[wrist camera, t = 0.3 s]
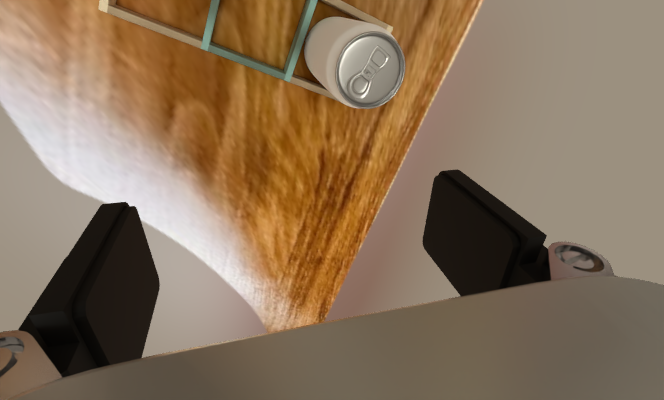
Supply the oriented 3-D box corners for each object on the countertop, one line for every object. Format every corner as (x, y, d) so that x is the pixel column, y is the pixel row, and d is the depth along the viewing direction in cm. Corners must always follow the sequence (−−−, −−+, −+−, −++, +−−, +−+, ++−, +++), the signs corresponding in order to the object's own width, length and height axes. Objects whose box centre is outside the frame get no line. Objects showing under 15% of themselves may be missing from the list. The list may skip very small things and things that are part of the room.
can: (291, 59, 35) (313, 84, 25) (327, 1, 33) (366, 3, 23) (338, 94, 38) (375, 129, 28) (374, 43, 36) (426, 61, 26)
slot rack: (120, -110, 26) (111, -117, 24) (385, 25, 36) (393, 27, 34) (107, 8, 30) (98, 9, 28) (352, 103, 39) (358, 108, 37)
